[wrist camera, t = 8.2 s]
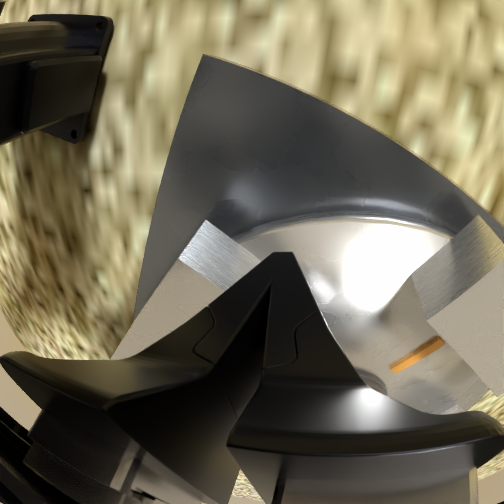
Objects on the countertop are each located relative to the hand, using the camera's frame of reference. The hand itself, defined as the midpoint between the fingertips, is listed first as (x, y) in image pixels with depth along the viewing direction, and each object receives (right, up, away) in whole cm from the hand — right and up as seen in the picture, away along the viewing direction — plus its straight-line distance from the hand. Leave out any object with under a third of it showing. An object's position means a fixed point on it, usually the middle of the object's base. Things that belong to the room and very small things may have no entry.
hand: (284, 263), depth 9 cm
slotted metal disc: (+4, -7, +7) cm, 11 cm away
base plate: (+4, -6, +8) cm, 11 cm away
